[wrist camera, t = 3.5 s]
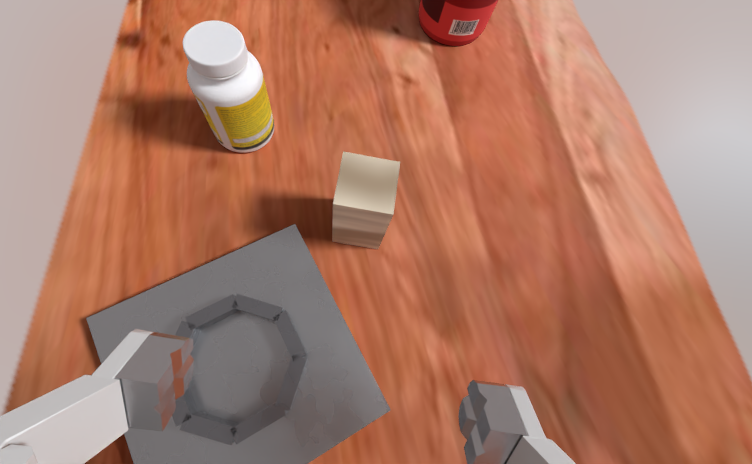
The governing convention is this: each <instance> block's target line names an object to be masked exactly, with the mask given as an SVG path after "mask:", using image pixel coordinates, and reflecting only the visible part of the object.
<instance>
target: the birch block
mask: <svg viewBox="0 0 752 464" xmlns="http://www.w3.org/2000/svg"><path fill="white" fill-rule="evenodd" d="M399 168H400V162H397V161H391V160H386V159H381V158H375V157H370V156H365V155H359V154H354V153H349V152H343V156H342V161H341V166H340V171H339V176H338V181H337V186H336V191H335V196H334V201H333V225H332V242H337V243H343V244H349V245H355V246H361V247H367V248H373V249H378V248H379V246H380V244H381V241H382V239H383V237H384V235H385V232H386V230H387V228H388V226H389V223H390V221H391V219H392V216H393V213H394V206H395V198H396V190H397V183H398V175H399Z"/></svg>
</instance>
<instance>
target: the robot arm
mask: <svg viewBox="0 0 752 464" xmlns="http://www.w3.org/2000/svg"><path fill="white" fill-rule="evenodd" d="M193 348H194V347H193V339H191V338H187V337H181V336H176V335H170V334H164V333H158V332H151V331H145V330H139V329H135V330H133V331H131V332H130V333H129V334H128V335H127V336H126V337H125V338H124V339H123V340H122V341H121V343H120V344H119V345H118V346H117V347H116V348H115V349H114V350H113V352H112V353H111V354H110V355H109V356H108V357H107V358H106V359H105V360H104V362H103V363H102V364H101V365H100V366H99V367H98V368H97V369H96V371H95V372H94V373H93V374H92V375H84V376H82V377H80V378H77V379H75V380H73V381H71V382H69V383H67V384H65V385H63V386H61V387H59V388H57V389H55V390H53V391H51V392H49V393H47V394H45V395H43V396H41V397H39V398H37V399H35V400H32V401H30V402H28V403H26V404H24V405H22V406H20V407H18V408H16V409H14V410H12V411H10V412H8V413H6V414H4V415H2V416H0V464H84V463H86V462H87V461H88V460H90V459H91V458H92V457H94V456H95V455H96V454H98V453H99V452H100V451H102V450H103V449H104V448H105V447H107V446H108V445H109V444H111V443H112V442H113V441H115V440H116V439H117V438H119V437H120V436H121V435H123V434H124V433H125V432H127V431H128V428H133V429H143V430H153V431H163V430H164V429H165V427H166V425H167V423H168V422H169V420H170V418H171V416H172V415H173V413H174V411H175V409H176V402H175V400H176V399H177V398H179V397H181V396H182V395H184V394H185V392H186V390H187V388H188V386H189V384H190V381H191V379H192V376H193V372H194V359H193V358H192V357H191V355H190V353H191V351H192V350H193ZM467 389H468V393H469V395H468V396H466V397H465V398H463V400H462V402H461V405H460V409H459V426H460V431H461V433H462V434H463V436H464V437H465V438H466V439H467V442H466V444H465V446H464V450H465V455H466V459H467V464H576V463H575V462H574V461H573V460H572V459H571V458H570V457H569V456H568V455H566V454H565V453H564V452H563V451H562V450H561V449H560V448H559V447H558V446H557V445H556V444H555V443H554V442H553V441H552V440H550V439H546V437H545V434H544V432H543V430H542V427H541V425H540V423H539V420H538V418H537V416H536V414H535V411H534V409H533V407H532V404H531V402H530V400H529V397H528V395H527V393H526V391H525V389H524V388H523V387H519V386H512V385H504V384H499V383H492V382H484V381H477V380H473V381H471V382H470V384H469V386H468V388H467Z"/></svg>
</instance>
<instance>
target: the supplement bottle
mask: <svg viewBox="0 0 752 464" xmlns="http://www.w3.org/2000/svg"><path fill="white" fill-rule="evenodd" d="M183 49H184V52H185V54H186V56H187V58H188V61H189V65H188V69H187V79H188V83H189V85H190V88H191V90H192V92H193V94H194V96H195V98H196V100H197V102H198V104H199V106H200V108H201V109H202V111H203V113H204V115H205V117H206V119H207V121H208V123H209V125H210V127H211V129H212V131H213V133H214V135H215V137H216V138H217V140H218V141H219V143H220V144H221V145H223V146H224V147H225V148H227V149H229V150H231V151H235V152H241V153H246V152H253V151H256V150H258V149H260V148H262V147H263V146H265V145H266V144H267V143H268V142H269V141H270V139H271V137H272V135H273V132H274V119H273V115H272V111H271V107H270V102H269V98H268V94H267V90H266V86H265V81H264V77H263V73H262V70H261V67H260V65H259V63H258V61H257V60H256V58H255V57H254V56H253V55H252V54H251V53H250V52H249V51H247V48H246V45H245V41H244V38H243V36H242V34H241V33H240V31H239V30H238V29H237V28H235V27H234V26H233V25H231V24H228V23H226V22H222V21H205V22H201V23H199V24H197V25H195V26H193V27H192V28H191V29H189V30H188V32H187V33H186V34H185V36H184V39H183Z"/></svg>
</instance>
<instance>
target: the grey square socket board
mask: <svg viewBox="0 0 752 464" xmlns="http://www.w3.org/2000/svg"><path fill="white" fill-rule="evenodd" d="M86 319H87V322H88V325H89V328H90V331H91V334H92V337H93V340H94V343H95V346H96V349H97V353H98V356H99V359H100V362H101V364H102V363H103V362H104V360H105V359H106V358H107V357H108V356H109V355H110V354H111V353H112V352H113V350H114V349H115V348H116V347H117V346H118V345H119V344H120V343H121V341H122V340H123V339H124V338H125V337H126V336H127V335H128V334H129V333H130V332H131V331H133V330H135V329H139V330H145V331H151V332H158V333H164V334H170V335H176V336H181V337H187V338H191V339H193V347H194V348H193V350H192V351H191V353H190V355H191V357H192V358H193V359H194V372H193V376H192V379H191V381H190V384H189V386H188V388H187V390H186V392H185V394H184V395H182V396H181V397H179V398H177V399H176V400H175V402H176V409H175V411H174V413H173V415H172V416H171V418H170V420H169V422H168V423H167V425H166V427H165V429H164V430H163V431H153V430H143V429H133V428H128V431H127V432H125V433H124V435H125V438H126V441H127V444H128V447H129V450H130V453H131V457H132V460H133V463H134V464H308V463H309V462H311V461H312V460H314V459H315V458H317V457H318V456H320V455H322V454H323V453H325V452H326V451H328V450H329V449H331V448H332V447H334V446H336V445H337V444H339V443H340V442H342V441H343V440H345V439H346V438H348V437H350V436H351V435H353V434H354V433H356V432H357V431H359V430H360V429H362V428H363V427H365V426H367V425H368V424H370V423H371V422H373V421H374V420H376V419H377V418H379V417H381V416H382V415H384V414H385V413H387V412H388V411H390V408H389V406H388V404H387V402H386V400H385V398H384V396H383V394H382V392H381V390H380V388H379V387H378V385H377V383H376V381H375V379H374V377H373V375H372V373H371V371H370V369H369V367H368V365H367V363H366V361H365V359H364V357H363V355H362V353H361V351H360V349H359V348H358V346H357V344H356V342H355V340H354V338H353V336H352V334H351V332H350V330H349V328H348V326H347V324H346V322H345V320H344V318H343V316H342V314H341V312H340V310H339V309H338V307H337V305H336V303H335V301H334V299H333V297H332V295H331V293H330V291H329V289H328V287H327V285H326V283H325V281H324V279H323V277H322V275H321V273H320V271H319V270H318V268H317V266H316V264H315V262H314V260H313V258H312V256H311V254H310V252H309V250H308V248H307V246H306V244H305V242H304V240H303V238H302V236H301V234H300V232H299V231H298V229H297V227H296V225H295V224H294V225H291V226H289V227H287V228H285V229H283V230H280V231H278V232H276V233H274V234H272V235H269V236H267V237H265V238H263V239H260V240H258V241H256V242H254V243H252V244H249V245H247V246H245V247H243V248H241V249H238V250H236V251H234V252H232V253H229V254H227V255H225V256H223V257H221V258H218V259H216V260H214V261H212V262H210V263H207V264H205V265H203V266H201V267H198V268H196V269H194V270H192V271H190V272H187V273H185V274H183V275H181V276H179V277H176V278H174V279H172V280H170V281H167V282H165V283H163V284H161V285H159V286H156V287H154V288H152V289H150V290H148V291H145V292H143V293H141V294H139V295H136V296H134V297H132V298H130V299H128V300H125V301H123V302H121V303H119V304H116V305H114V306H112V307H110V308H108V309H105V310H103V311H101V312H99V313H97V314H94V315H92V316H90V317H88V318H86Z"/></svg>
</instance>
